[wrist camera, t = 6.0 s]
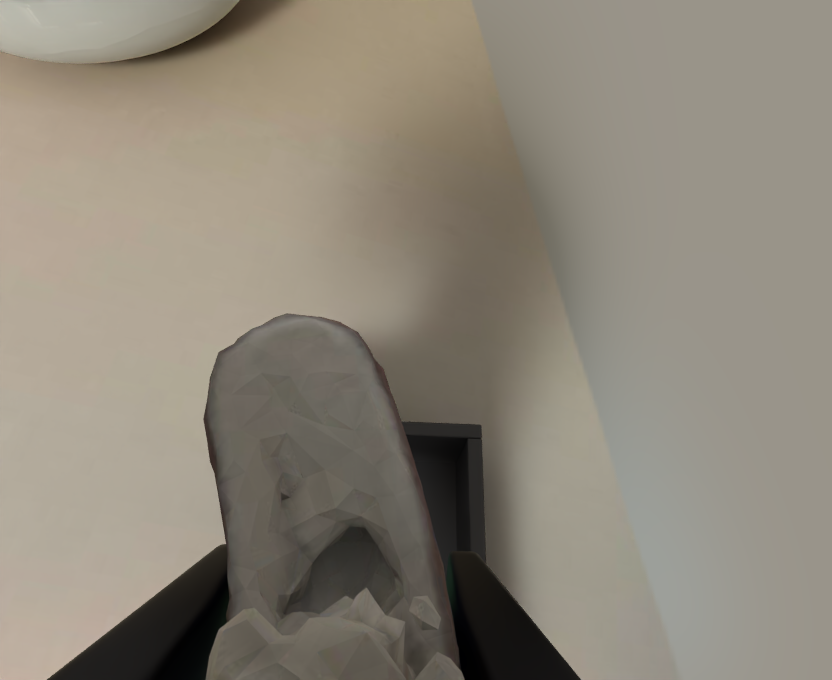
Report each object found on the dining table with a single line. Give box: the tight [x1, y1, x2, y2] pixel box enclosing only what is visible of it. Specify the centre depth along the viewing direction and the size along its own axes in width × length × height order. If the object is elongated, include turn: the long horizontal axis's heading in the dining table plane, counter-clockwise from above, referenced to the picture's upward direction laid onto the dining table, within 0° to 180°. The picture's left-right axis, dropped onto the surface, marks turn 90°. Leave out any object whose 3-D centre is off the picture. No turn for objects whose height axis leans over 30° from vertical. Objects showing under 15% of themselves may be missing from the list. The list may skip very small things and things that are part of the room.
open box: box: [402, 422, 486, 579], centre depth 17 cm, size 13×7×4 cm, turn 179°
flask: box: [204, 314, 464, 680], centre depth 8 cm, size 9×3×11 cm, turn 9°
